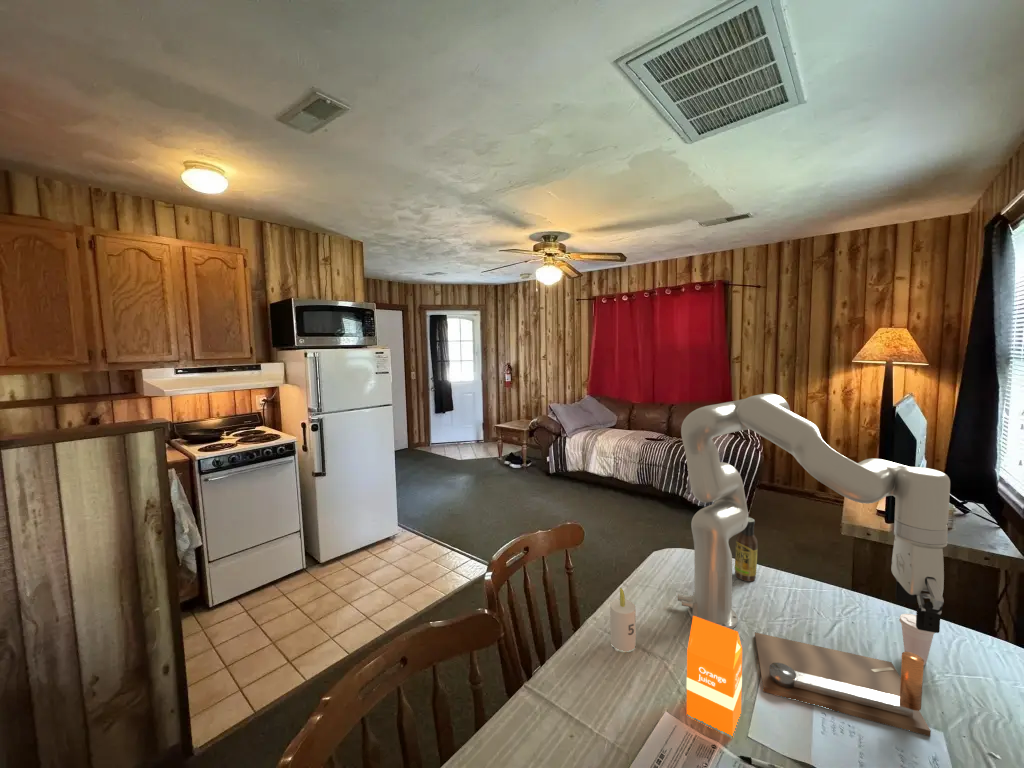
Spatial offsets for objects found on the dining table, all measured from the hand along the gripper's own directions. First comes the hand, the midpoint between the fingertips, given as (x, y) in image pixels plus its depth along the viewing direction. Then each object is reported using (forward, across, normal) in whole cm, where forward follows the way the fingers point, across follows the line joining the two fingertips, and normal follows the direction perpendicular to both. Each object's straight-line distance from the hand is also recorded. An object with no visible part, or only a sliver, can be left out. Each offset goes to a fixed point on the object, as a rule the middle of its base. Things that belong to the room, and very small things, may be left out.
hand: (915, 615), depth 85 cm
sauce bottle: (+22, -47, -26) cm, 58 cm away
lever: (+20, 0, -12) cm, 24 cm away
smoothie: (+22, -21, +8) cm, 32 cm away
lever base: (+22, -6, -12) cm, 26 cm away
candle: (+22, 0, -57) cm, 61 cm away
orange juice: (+22, +14, -36) cm, 45 cm away
